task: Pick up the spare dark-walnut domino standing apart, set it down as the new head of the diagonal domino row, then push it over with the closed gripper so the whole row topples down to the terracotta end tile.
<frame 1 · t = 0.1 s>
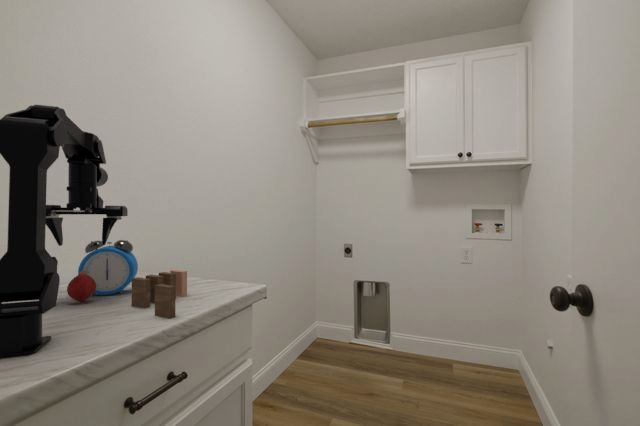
hand: (82, 244, 78), 15 cm above the countertop, fingers open, 9 cm apart
tile 2: (140, 306, 75), on the countertop
tile 1: (165, 316, 69), on the countertop
tile 3: (154, 302, 79), on the countertop
tile 4: (167, 298, 82), on the countertop
tile 5: (178, 295, 86), on the countertop
alarm clock: (109, 293, 87), on the countertop
onion: (81, 303, 78), on the countertop
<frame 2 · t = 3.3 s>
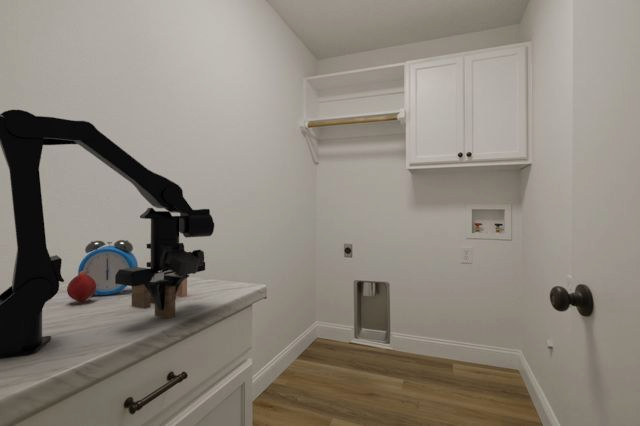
hand: (165, 308, 69), 2 cm above the countertop, fingers closed on tile 1, 2 cm apart
tile 1: (165, 316, 69), on the countertop, touching gripper
everything else where it was.
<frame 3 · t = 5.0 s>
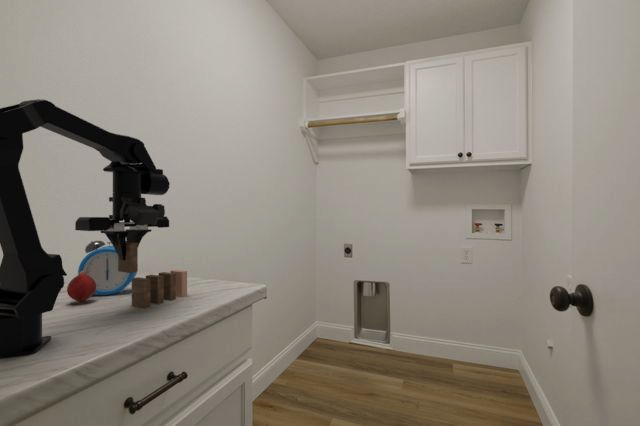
hand: (127, 259, 72), 12 cm above the countertop, fingers closed on tile 1
tile 1: (127, 271, 72), point 9 cm above the countertop, touching gripper
everything else where it was.
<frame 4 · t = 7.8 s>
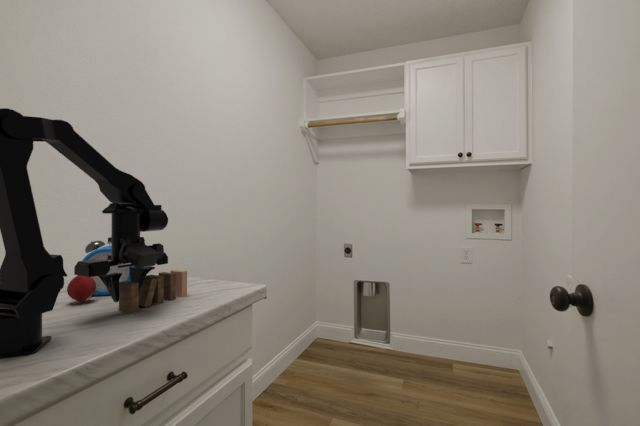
hand: (125, 299, 72), 3 cm above the countertop, fingers open, 4 cm apart
tile 2: (141, 305, 75), on the countertop, tilted 18°, touching tile 3
tile 1: (128, 311, 72), on the countertop
tile 3: (154, 302, 79), on the countertop, touching tile 2
everything else where it was.
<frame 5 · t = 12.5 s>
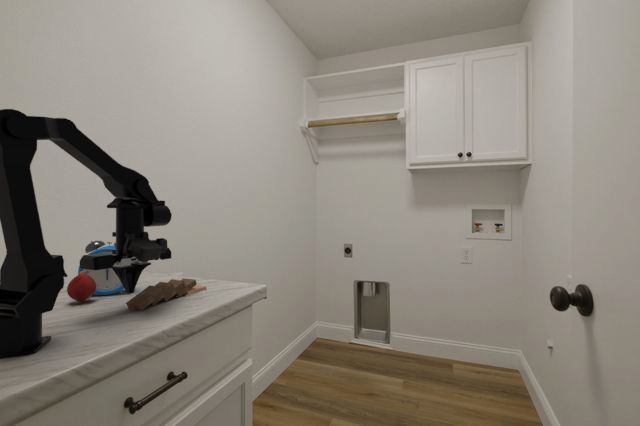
hand: (130, 293, 73), 4 cm above the countertop, fingers closed
tile 2: (145, 301, 77), point 1 cm above the countertop, tilted 65°, touching tile 1, tile 3
tile 1: (133, 306, 73), point 1 cm above the countertop, tilted 65°, touching tile 2
tile 3: (158, 298, 80), point 1 cm above the countertop, tilted 65°, touching tile 2, tile 4
tile 4: (171, 294, 84), point 1 cm above the countertop, tilted 72°, touching tile 3
tile 5: (181, 293, 87), on the countertop, tilted 90°
everything else where it was.
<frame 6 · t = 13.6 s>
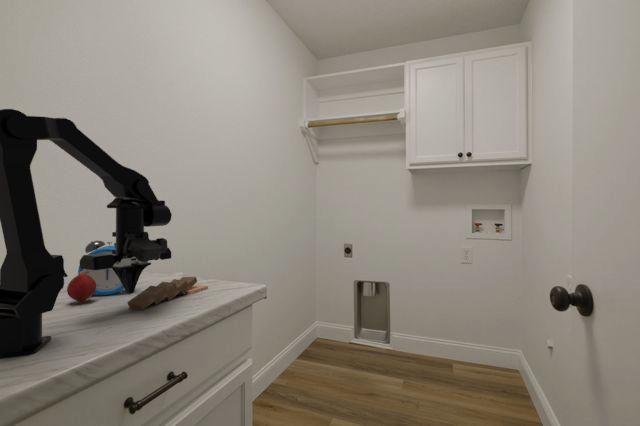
hand: (130, 293, 73), 4 cm above the countertop, fingers closed
tile 3: (161, 297, 81), point 1 cm above the countertop, tilted 67°, touching tile 2
tile 4: (175, 292, 85), point 1 cm above the countertop, tilted 72°
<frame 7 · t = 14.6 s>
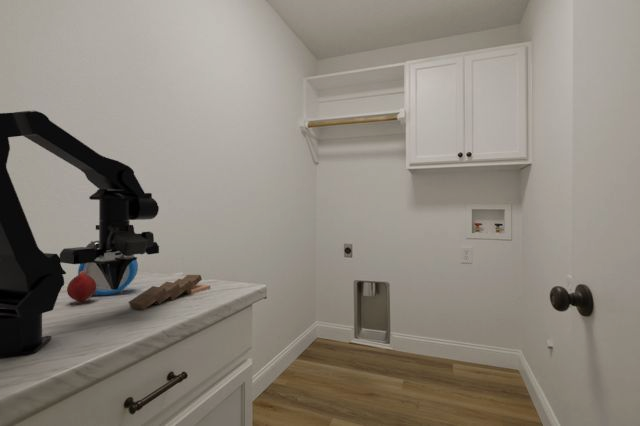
hand: (114, 289, 70), 6 cm above the countertop, fingers closed
tile 2: (151, 300, 78), point 1 cm above the countertop, tilted 67°
tile 1: (135, 306, 73), point 1 cm above the countertop, tilted 69°
tile 3: (165, 296, 81), point 1 cm above the countertop, tilted 67°
tile 4: (179, 290, 86), point 1 cm above the countertop, tilted 69°, touching tile 5
tile 5: (186, 292, 88), on the countertop, tilted 90°, touching tile 4
everything else where it was.
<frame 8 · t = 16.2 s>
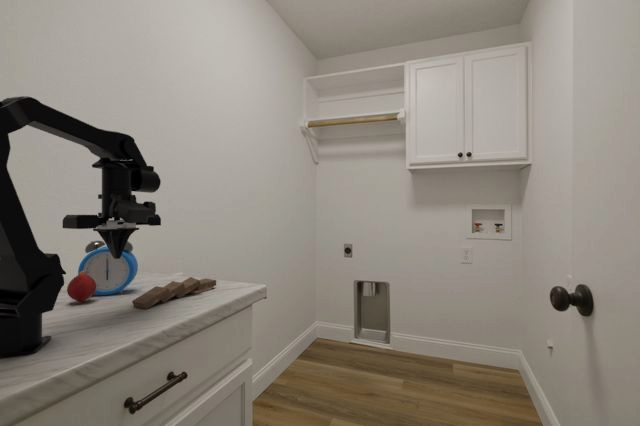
hand: (116, 258, 70), 12 cm above the countertop, fingers closed
tile 2: (156, 299, 79), point 1 cm above the countertop, tilted 69°, touching tile 1, tile 3
tile 1: (138, 305, 74), point 1 cm above the countertop, tilted 71°, touching tile 2
tile 3: (173, 294, 83), point 1 cm above the countertop, tilted 68°, touching tile 2
tile 4: (192, 286, 89), point 2 cm above the countertop, tilted 90°, touching tile 5
at the end: tile 5 tilted 90°; tile 3 tilted 68° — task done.
